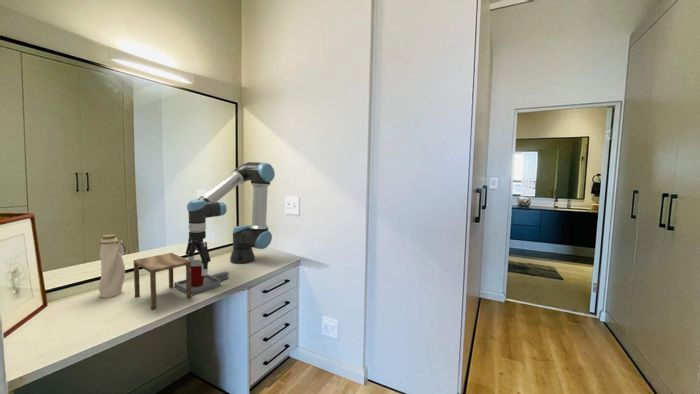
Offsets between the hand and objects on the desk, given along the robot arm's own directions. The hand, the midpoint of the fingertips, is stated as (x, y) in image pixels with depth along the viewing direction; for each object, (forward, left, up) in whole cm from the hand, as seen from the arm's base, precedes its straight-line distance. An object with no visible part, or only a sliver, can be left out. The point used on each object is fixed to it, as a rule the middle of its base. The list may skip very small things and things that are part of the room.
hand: (197, 271), depth 146 cm
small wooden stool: (+16, 0, -8) cm, 18 cm away
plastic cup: (0, 0, -7) cm, 7 cm away
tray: (-4, 0, -7) cm, 8 cm away
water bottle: (+29, -21, -8) cm, 37 cm away
